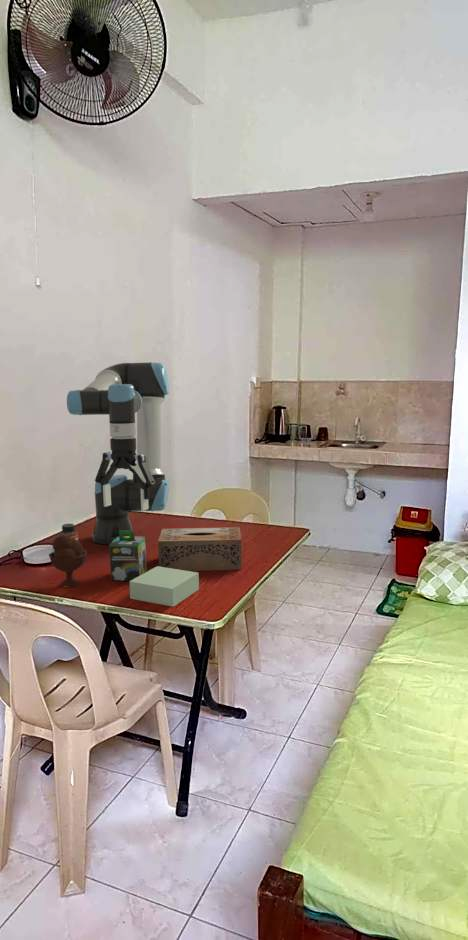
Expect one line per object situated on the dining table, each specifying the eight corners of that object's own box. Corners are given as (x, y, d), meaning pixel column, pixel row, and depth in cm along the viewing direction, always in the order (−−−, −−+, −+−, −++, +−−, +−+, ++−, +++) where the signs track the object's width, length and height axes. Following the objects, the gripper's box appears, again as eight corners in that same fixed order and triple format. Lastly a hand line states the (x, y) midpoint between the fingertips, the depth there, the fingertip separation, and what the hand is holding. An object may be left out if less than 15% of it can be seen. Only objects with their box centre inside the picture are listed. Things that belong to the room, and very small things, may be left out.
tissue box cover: (239, 556, 212) (239, 527, 211) (241, 570, 198) (241, 539, 196) (163, 557, 212) (162, 528, 210) (159, 572, 198) (158, 541, 196)
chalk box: (147, 571, 198) (145, 525, 195) (140, 581, 189) (138, 533, 186) (118, 570, 198) (116, 525, 196) (110, 581, 189) (107, 533, 187)
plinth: (130, 598, 175) (129, 581, 175) (157, 582, 188) (157, 566, 187) (173, 606, 169) (172, 588, 168) (198, 589, 182) (198, 572, 181)
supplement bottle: (57, 557, 212) (55, 525, 210) (73, 553, 216) (71, 521, 214) (66, 561, 208) (64, 528, 206) (82, 557, 212) (80, 524, 210)
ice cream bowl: (69, 593, 180) (66, 542, 177) (42, 586, 186) (39, 537, 183) (96, 582, 189) (93, 533, 186) (69, 575, 195) (67, 528, 192)
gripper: (81, 436, 188) (84, 506, 192) (151, 440, 177) (154, 514, 181) (97, 434, 195) (100, 501, 198) (165, 437, 184) (168, 508, 187)
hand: (125, 507), depth 189 cm, fingers open, 13 cm apart
